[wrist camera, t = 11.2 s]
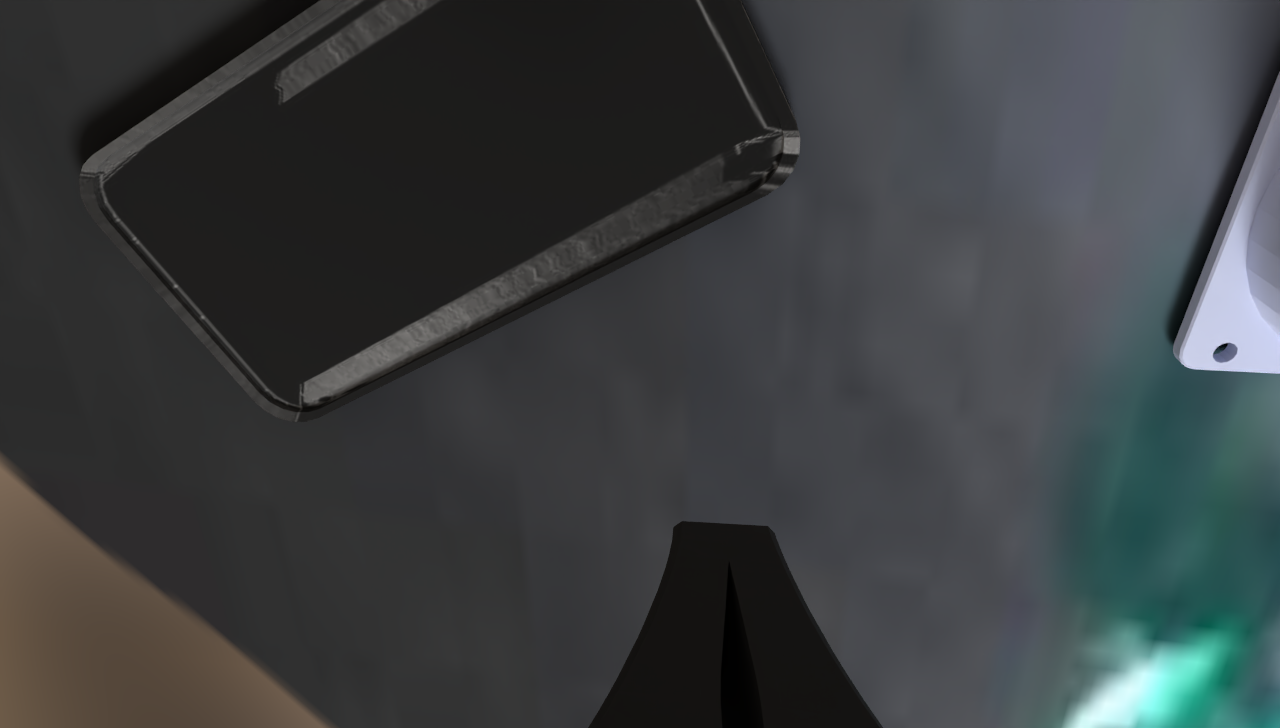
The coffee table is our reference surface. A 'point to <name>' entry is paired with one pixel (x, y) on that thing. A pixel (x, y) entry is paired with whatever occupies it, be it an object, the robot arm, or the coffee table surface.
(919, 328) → the coffee table surface
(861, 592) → the coffee table surface
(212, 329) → the phone
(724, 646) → the robot arm
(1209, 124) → the coffee table surface
